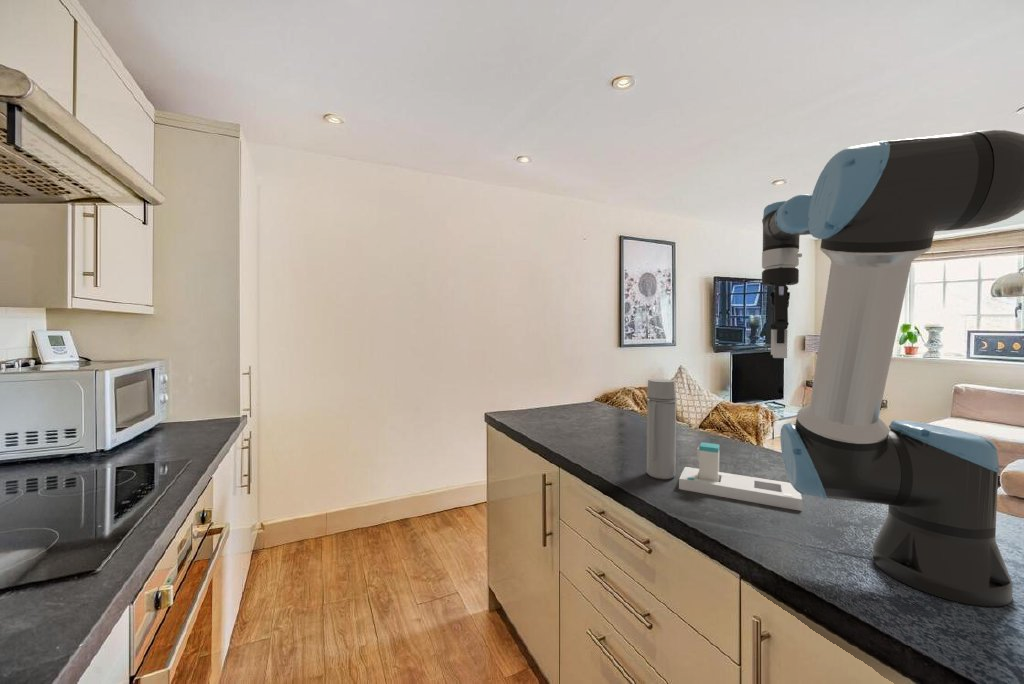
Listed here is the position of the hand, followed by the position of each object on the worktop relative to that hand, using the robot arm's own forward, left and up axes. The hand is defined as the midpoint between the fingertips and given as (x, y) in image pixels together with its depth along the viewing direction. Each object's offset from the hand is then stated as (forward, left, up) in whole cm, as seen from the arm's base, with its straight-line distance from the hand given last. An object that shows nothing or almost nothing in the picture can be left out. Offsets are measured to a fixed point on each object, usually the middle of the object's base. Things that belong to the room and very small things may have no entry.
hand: (778, 356), depth 102 cm
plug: (-11, +14, -31) cm, 36 cm away
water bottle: (-8, +26, -32) cm, 42 cm away
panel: (-11, +8, -32) cm, 34 cm away
